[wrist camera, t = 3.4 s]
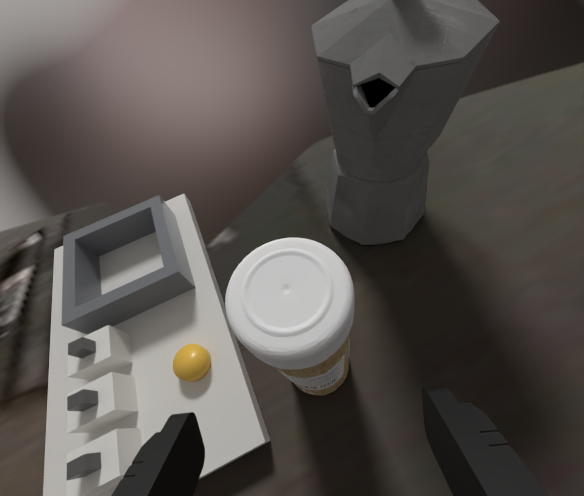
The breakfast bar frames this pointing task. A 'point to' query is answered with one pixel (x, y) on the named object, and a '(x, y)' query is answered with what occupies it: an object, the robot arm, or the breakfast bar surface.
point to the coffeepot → (391, 103)
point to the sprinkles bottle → (294, 311)
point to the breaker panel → (140, 350)
